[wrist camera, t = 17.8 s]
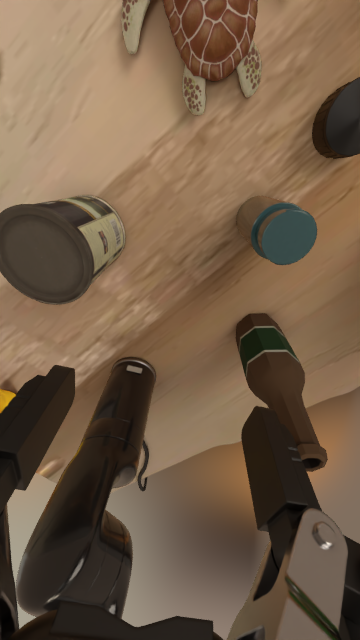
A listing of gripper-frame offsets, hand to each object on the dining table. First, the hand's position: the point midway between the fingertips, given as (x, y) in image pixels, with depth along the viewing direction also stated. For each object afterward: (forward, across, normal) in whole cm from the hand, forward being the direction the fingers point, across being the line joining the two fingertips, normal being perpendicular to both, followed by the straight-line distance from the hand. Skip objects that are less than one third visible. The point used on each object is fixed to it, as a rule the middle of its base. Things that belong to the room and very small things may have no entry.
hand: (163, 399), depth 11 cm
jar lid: (+30, -15, -18) cm, 38 cm away
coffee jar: (+30, -9, -6) cm, 32 cm away
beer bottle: (+30, -16, +12) cm, 36 cm away
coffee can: (+30, +14, +2) cm, 34 cm away
